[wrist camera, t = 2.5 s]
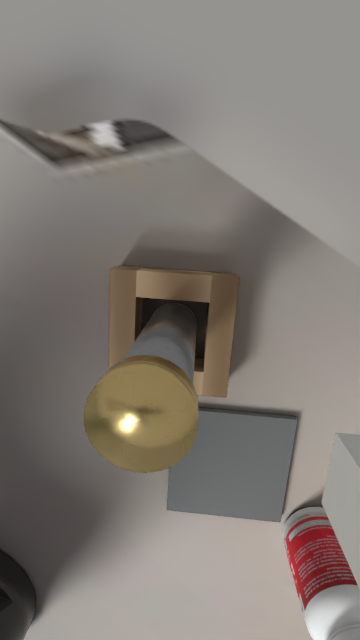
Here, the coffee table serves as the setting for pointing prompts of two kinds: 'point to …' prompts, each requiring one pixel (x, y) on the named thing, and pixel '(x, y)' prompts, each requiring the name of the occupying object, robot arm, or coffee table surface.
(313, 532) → the pill bottle
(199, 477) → the rubber mat
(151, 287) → the block
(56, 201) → the coffee table surface
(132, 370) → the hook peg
